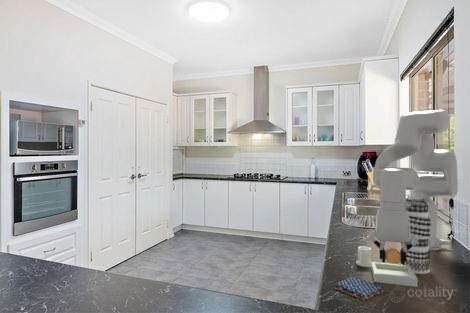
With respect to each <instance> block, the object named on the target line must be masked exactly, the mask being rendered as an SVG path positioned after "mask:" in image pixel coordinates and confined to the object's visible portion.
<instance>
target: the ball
mask: <svg viewBox="0 0 470 313" xmlns="http://www.w3.org/2000/svg"><path fill="white" fill-rule="evenodd" d="M400 260H401V254H400V250H399V249H397V248H396V247H395V248H394V247H390V248H387V249H385V262H387V263H388V264H399V263H401V262H400Z"/></svg>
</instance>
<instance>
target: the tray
mask: <svg viewBox="0 0 470 313" xmlns="http://www.w3.org/2000/svg"><path fill="white" fill-rule="evenodd" d="M370 269H371V273H372V274H371V275H372V276H373V281H374V283H381V284H389V285H398V286H406V287H414V288H418V287H419V286H418V282H419V281H418V277H417V276H416V273H414V272H413V270H412V268H411V267H410V266H408V265H402V264H399V263H397V264H391V263H389V262H387V263H386V262H384V263H383V262H377V261H371V267H370Z"/></svg>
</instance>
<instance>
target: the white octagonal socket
mask: <svg viewBox="0 0 470 313" xmlns="http://www.w3.org/2000/svg"><path fill="white" fill-rule="evenodd" d="M355 262H356V266H358V267H363V268H371V262H372V248H371V247H368V246H360V245H359V246H358V247H357V260H356V261H355Z"/></svg>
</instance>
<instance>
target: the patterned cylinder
mask: <svg viewBox="0 0 470 313" xmlns="http://www.w3.org/2000/svg"><path fill="white" fill-rule="evenodd" d="M406 203H408V204H411V208H407V209H406V211H408V214H409V220H410V229H411V233H412V234H413V236H414V237H415V238H416V239H417V240H418V244H416V245H414V246H413V247H412V248H410V249H409V250H408V251H407V252H406V261H404V265H408V266H410V267H411V268H412V270H413V272H414V273H415V274H419V275H425V274H430V272H431V271H430V268H431V266H430V264H431V261H430V260H429V259H431V256H430V254H431V251H430V250H429V245H428V238H430V234H429V233H428V232H430V229H428V226H431V224H430V223H428V221H431V219H429V218H428V216H429V212H428V204H429V203H428V202H427V201H426V199H424V198H419V197H412V196H409V197H406ZM411 241H412V239H411ZM411 241H410V242H411ZM410 242H408V243H410ZM405 244H407V243H405Z"/></svg>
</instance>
